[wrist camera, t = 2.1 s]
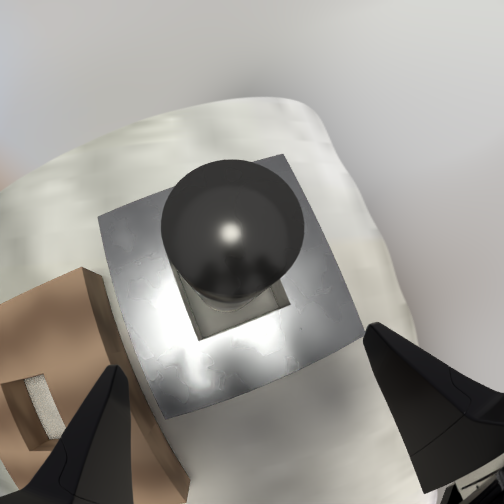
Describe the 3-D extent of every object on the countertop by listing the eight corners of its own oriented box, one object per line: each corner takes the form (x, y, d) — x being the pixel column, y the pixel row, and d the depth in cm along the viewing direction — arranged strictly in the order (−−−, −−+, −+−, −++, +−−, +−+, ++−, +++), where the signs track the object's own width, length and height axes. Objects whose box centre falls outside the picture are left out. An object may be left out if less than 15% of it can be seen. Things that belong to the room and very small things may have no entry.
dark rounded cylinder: (261, 300, 20) (327, 262, 7) (210, 320, 19) (188, 317, 7) (241, 250, 21) (270, 146, 8) (190, 269, 20) (145, 184, 7)
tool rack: (190, 480, 16) (186, 502, 12) (42, 488, 12) (27, 501, 9) (101, 275, 19) (81, 266, 16) (-23, 330, 16) (-45, 327, 12)
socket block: (344, 333, 20) (365, 334, 17) (174, 404, 17) (165, 419, 14) (274, 176, 23) (283, 153, 19) (114, 232, 20) (97, 216, 17)
